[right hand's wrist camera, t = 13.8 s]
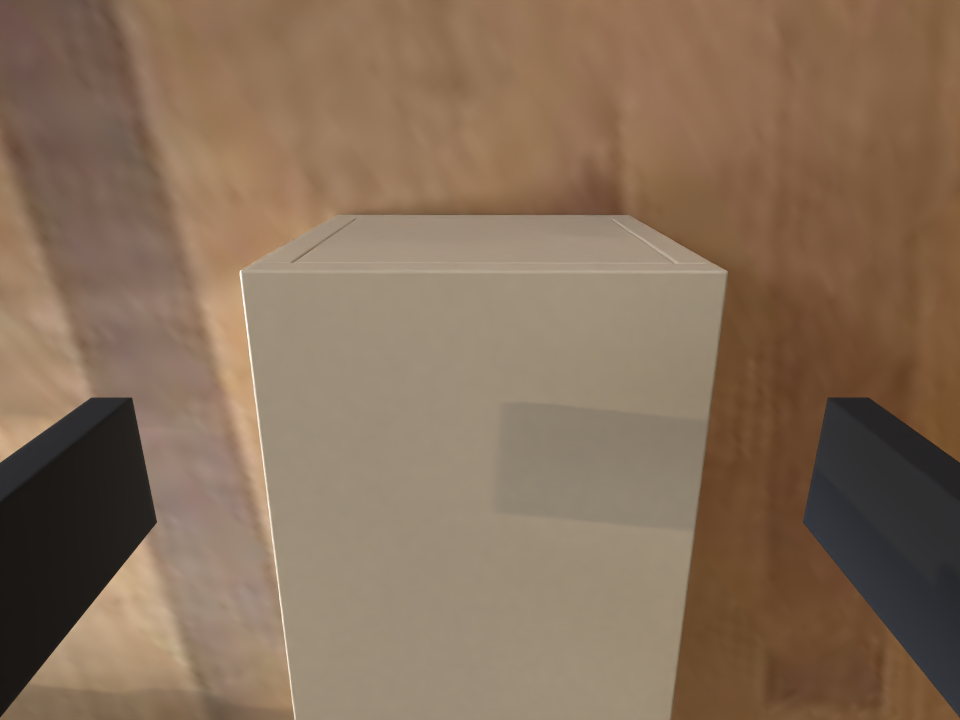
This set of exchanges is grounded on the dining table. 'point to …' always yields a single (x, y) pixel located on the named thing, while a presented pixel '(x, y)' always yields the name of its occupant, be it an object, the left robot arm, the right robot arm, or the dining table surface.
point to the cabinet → (483, 461)
